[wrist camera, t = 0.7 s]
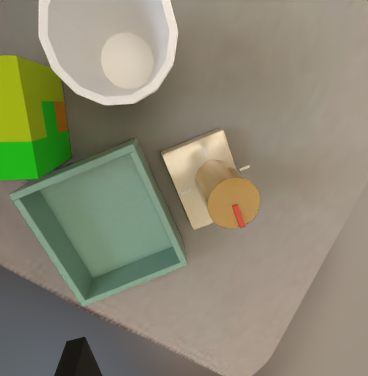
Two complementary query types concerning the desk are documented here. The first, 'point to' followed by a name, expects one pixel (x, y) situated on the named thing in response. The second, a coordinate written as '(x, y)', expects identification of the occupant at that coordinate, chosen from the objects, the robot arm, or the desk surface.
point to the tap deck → (188, 166)
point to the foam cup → (109, 46)
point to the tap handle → (227, 194)
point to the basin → (103, 223)
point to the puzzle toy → (31, 120)
